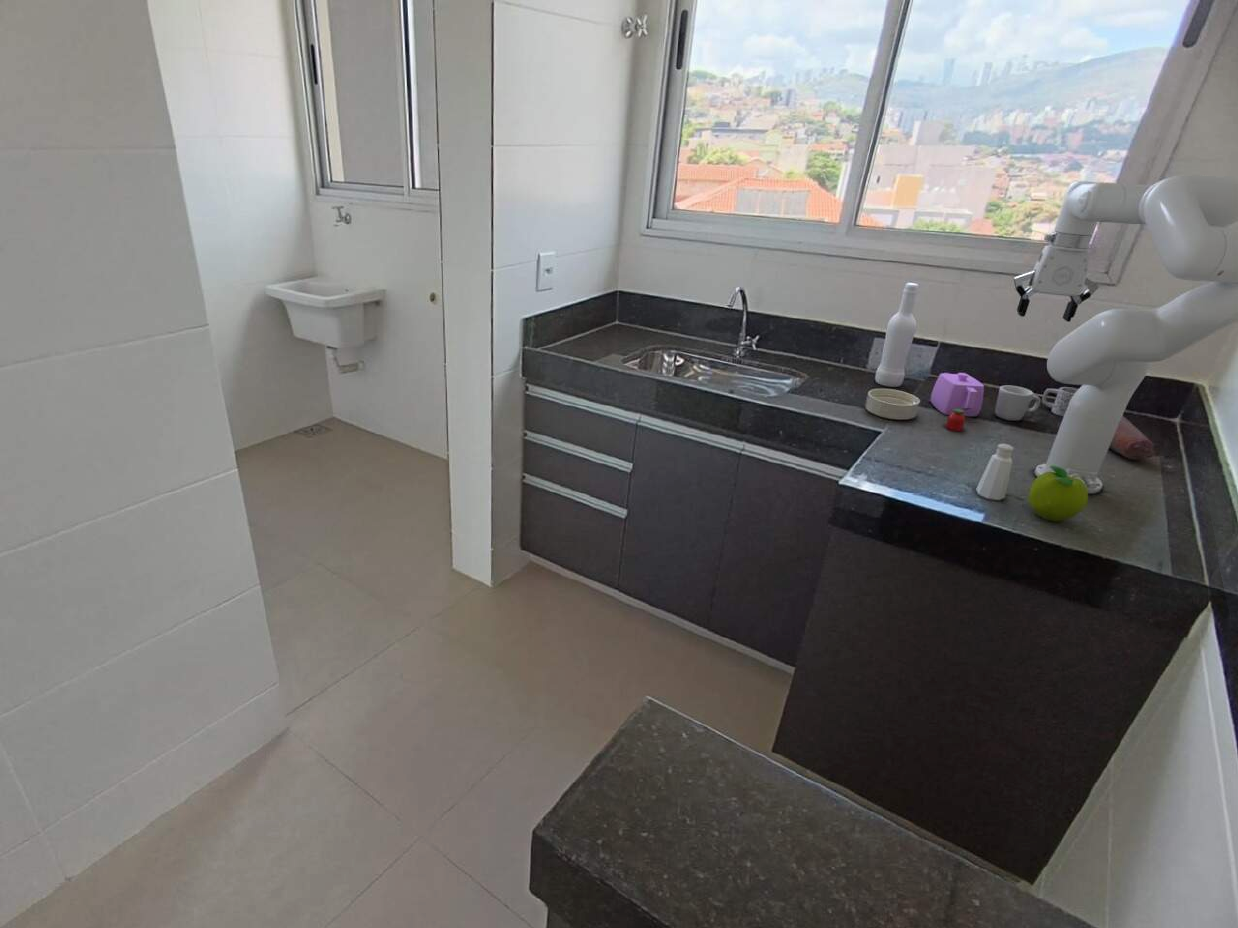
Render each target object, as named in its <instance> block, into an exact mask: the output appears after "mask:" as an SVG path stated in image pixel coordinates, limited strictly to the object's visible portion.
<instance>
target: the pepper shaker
mask: <svg viewBox="0 0 1238 928" xmlns="http://www.w3.org/2000/svg"><path fill="white" fill-rule="evenodd" d="M1014 450H1015V448H1014V446H1012V445H1010V444H1008V443H999V444H998V445H997V449H996V453H995V454H992V455H991V457H990V458H989V461H988V463H987V465H986V467H985V469H984V471H983V474H982V476H981V478H980V480H979V482H978V484H977V486H976V488H975V492H976V493H977V494H978V496H980V497H983V498H985V499H987V500H992V501H1000V500H1003V499H1005V498H1006V494H1007V490H1008V484H1009V481H1010V480H1009V479H1010V475H1011V470H1012V467H1013V459H1012V458H1011V456H1012V454H1013V451H1014Z"/></svg>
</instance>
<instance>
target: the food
mask: <svg viewBox="0 0 1238 928" xmlns="http://www.w3.org/2000/svg"><path fill="white" fill-rule="evenodd" d="M1109 449H1111V450H1112V451H1115V452H1116V453H1117V454H1119V455H1121V456H1122V457H1124V458H1126V459H1128V460H1131V461H1135V460H1143V459H1147V458H1153V457H1154V456H1155V454H1156V451H1155V446H1154V443H1153V442H1152V441H1151V440H1150V439H1149V438H1148V437H1147V436H1146V435H1145V434H1144V433H1143V432H1141V430H1139V428H1137V426H1135V425H1134V424H1133V423H1132V422H1131V421H1130V420H1128V418H1126V417H1125V416H1124V414H1123V415H1122V418H1121V420H1120V422H1119V425H1118V427H1117V429H1116V432H1115V434H1114V437H1113V439H1112V441H1111V444H1110V446H1109Z"/></svg>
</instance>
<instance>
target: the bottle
mask: <svg viewBox="0 0 1238 928" xmlns="http://www.w3.org/2000/svg"><path fill="white" fill-rule="evenodd" d="M918 289H919V284H918V283H915V282H907V283H906V284H905V285H904V289H903V291H902V297H901V301H900V305H899V308H898V311H897V312H896V313H895V314H894V315H893V316H892V317H891V318H890V319H889V320H888V323H887V326H886V332H885V338H884V343H883V349H882V354H881V361H880V364H879V366H878V367H877V369H876V372H875V377H874V379H875V383H877V384H879V385H881V386H883V387H889V388H897V387H900V386H902V385H903V382H904V379H905V375H906V372H905V366H906V363H907V359H908V356H909V353H910V351H911V347H912V344H913V340H914V337H915V334H916V332H917V321H916V318H915V317H914V314H913V311H914V307H915V302H916V297H917V295H918V292H919V291H918Z"/></svg>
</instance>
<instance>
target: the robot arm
mask: <svg viewBox="0 0 1238 928" xmlns="http://www.w3.org/2000/svg"><path fill="white" fill-rule="evenodd" d="M1237 222H1238V179H1237V178H1234V177H1227V176H1215V175H1199V174H1197V175H1196V174H1177V175H1172V176H1169V177H1167V178H1164V179H1161V180H1158V181H1157V182H1155V183H1154V184H1137V183H1121V182H1100V181H1099V182H1098V181H1089V180H1088V181H1087V180H1086V181H1085V180H1078V181H1074V182H1072V183H1071V184H1070V185H1069V186H1068V187H1067V189H1066V193H1065V195H1064V198H1063V202H1062V204H1061V208H1060V211H1059V213H1058V217H1057V220H1056V223H1055V226H1054V229H1053V230H1052V231H1051V233H1049V234H1048V233H1046V234H1045V235H1044V237H1043V241H1047V242H1048V245H1045V246H1044V248H1043V249H1042V251H1041V253H1040V255H1039V257H1038V258H1037V261H1036V263H1035V265H1034V268H1033V269H1032V271H1029V272H1026V273H1023V274H1020V275H1017V276H1015V277H1013V284H1014V287H1015V291H1016V292H1017V293H1018V295H1019V297H1020V299H1019V302H1018V305H1017V308H1016V312H1017V314H1018V316H1019V317H1021V318H1022V317H1023V318H1024V317H1025V316H1026V314H1027V311H1028V308H1029V305H1030V302H1031V300H1030V299H1029V298H1030V297H1032V296H1033V295H1034V294H1036V293H1038V294H1045V295H1054V296H1055V295H1056V296H1057V295H1058V296H1067V297H1069V298H1070V301H1068V302H1067V304H1066V307H1065V310H1064V312H1063V314H1062V315H1063V316H1062V319H1063V320H1064V321H1065V322H1069V323H1070V322H1071V320H1072V319H1073V318H1074V317H1075V315H1076V313H1077V311H1078V307H1079V305H1081V304H1082V303H1083V302H1084V301H1086V300H1088V299H1090V298H1091V296H1092V295H1093V294H1094V293H1095V292H1097V290H1098V289H1099V287H1100V286H1099V285H1098V284H1096V283H1095V282H1093V281H1092V280H1090V278H1088V277H1087V276H1088V273H1089V269H1090V264H1091V259H1092V250H1091V249H1089V247H1090V244H1091V242H1092V239H1093V236H1094V233H1095V231H1096V228H1097V225H1098V223H1113V224H1114V223H1115V224H1125V225H1126V224H1128V225H1146V227H1147V230H1148V233H1149V234H1150V237H1151V239H1152V242H1153V245H1154V246H1155V249H1156V252H1157V254H1158V256H1159V258H1160V261H1161V263H1162V265H1163V267H1164V268H1165V269H1166V271H1167V272H1168V273H1169V274H1170V275H1171V276H1173V277H1174V278H1177V279H1180V280H1183V281H1189V282H1190V281H1192V282H1193V281H1194V282H1195V281H1196V282H1208V283H1207V284H1204V285H1200V286H1198V287H1195V288H1193V289H1190V290H1187V291H1186V292H1184V293H1182V294H1179V296H1177V297H1176V298H1174V299H1173V300H1171V301H1169V302H1167V303H1165V304H1164V305H1161V306H1159V307H1156V308H1147V309H1145V308H1144V309H1142V308H1140V309H1139V308H1113V309H1109V310H1104V311H1102V312H1100V313H1097V314H1096V315H1094V316H1093V317H1091V318H1090V319H1088V320H1087V321H1085V322H1084V323H1082V324H1081V325H1080V326H1078V327H1076V328H1075V329H1073V330H1072V331H1071V332H1069V333H1068V334H1067V335H1065V336H1064V337H1063V338H1061V339H1060V340H1059V341H1057V342H1056V344H1055V345H1054V346H1053V347H1052V349H1051V350H1050V352H1049V354H1048V357H1047V360H1046V369H1047V373H1048V374H1049V376H1050V378H1052V379H1053V380H1054V381H1056V382H1058V383H1061V384H1065V385H1074V386H1075V385H1076V386H1080V387H1079V388H1077V389H1078V390H1077V392H1076V393H1075V394H1074V395H1073V397H1072V398H1071V400H1070V402H1069V405H1068V407H1067V410H1066V412H1065V415H1064V417H1063V416H1062V420H1061V423H1060V425H1059V429H1058V431H1057V434H1056V437H1055V439H1054V441H1053V445H1052V447H1051V450H1050V452H1049V454H1048V457H1047V460H1046V462H1045V463H1042V464H1041V463H1040V464H1038V465H1037V466H1036V467H1035V469H1034V474H1035V476H1036V478H1037V477H1038V476H1040V475H1041V474H1043V473H1045V472H1054V470H1053V469H1052V468H1051V467H1050V466H1057V467H1060V468H1062V469H1064V470H1065V471H1066V472H1067V476H1069V477H1074V478H1078V479H1080V480H1081V481H1082V482H1083V483H1084V485H1085V487H1086V489H1087V492H1088V495H1089V494H1097V493H1098V492H1100V491H1101V490H1102V488H1103V482H1102V480H1101V479H1099V478H1098V474H1099V472H1100V471H1101V468H1102V465H1103V463H1104V461H1105V458H1106V456H1107V454H1108V451H1109V449H1110V448H1109V446H1110V444H1111V441H1112V439H1113V437H1114V434H1115V432H1116V429H1117V427H1118V425H1119V422H1120V420H1121V418H1122V415H1123V416H1124V413H1125V410H1126V408H1127V406H1128V404H1129V402H1130V400H1131V398H1132V396H1133V395H1134V393H1135V392H1136V390H1137V389H1138V387H1139V386H1140V384H1141V383H1142V381H1143V380H1144V378H1145V377H1146V376H1147V374H1148V372H1149V369H1150V367H1151V363H1155V362H1156V363H1157V362H1161V361H1165V360H1167V359H1170V358H1172V357H1174V356H1176V355H1177V354H1179V353H1181V352H1183V351H1186V350H1187V349H1189V348H1190V347H1193V346H1194V345H1196V344H1198V343H1200V342H1201V341H1203V340H1206V339H1207V338H1209V337H1211V336H1212V335H1214V334H1216V333H1217V332H1219V331H1222V330H1224V329H1225V328H1228V327H1229V326H1231V325H1234V324H1236V323H1238V227H1233V226H1232V227H1231V225H1233V224H1235V223H1237ZM1028 280H1029V282H1028V287H1026V288H1025V289H1024V287H1023V282H1025V281H1028ZM1084 286H1086V287H1087V289H1086V290H1085V291H1083V290H1084ZM1054 473H1056V472H1054Z"/></svg>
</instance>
